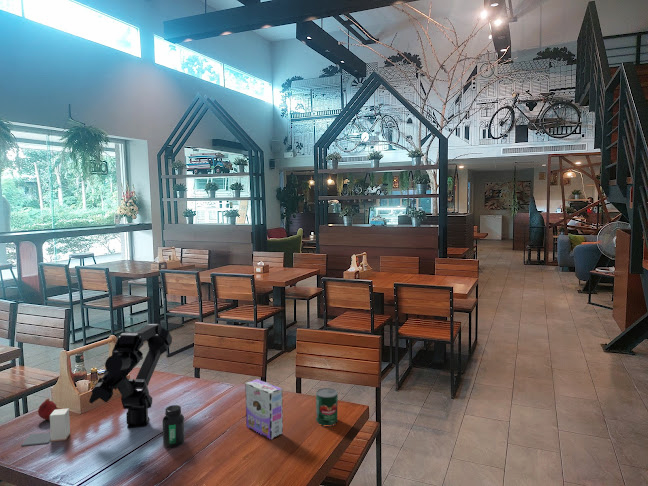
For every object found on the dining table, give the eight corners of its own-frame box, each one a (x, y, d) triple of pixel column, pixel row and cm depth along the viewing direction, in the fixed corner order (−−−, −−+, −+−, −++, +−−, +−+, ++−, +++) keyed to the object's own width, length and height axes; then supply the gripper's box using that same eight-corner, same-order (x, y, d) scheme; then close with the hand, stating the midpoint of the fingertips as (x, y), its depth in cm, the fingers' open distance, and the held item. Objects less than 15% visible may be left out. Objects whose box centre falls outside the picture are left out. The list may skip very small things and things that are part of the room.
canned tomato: (325, 428, 161) (325, 398, 160) (311, 421, 167) (311, 391, 166) (342, 421, 166) (342, 392, 165) (327, 414, 172) (327, 386, 171)
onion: (48, 424, 164) (47, 402, 163) (34, 422, 165) (33, 401, 164) (60, 416, 169) (59, 396, 169) (47, 415, 171) (46, 394, 170)
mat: (55, 433, 157) (55, 432, 157) (48, 443, 151) (48, 442, 151) (30, 435, 156) (30, 434, 156) (21, 446, 149) (21, 444, 149)
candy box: (283, 434, 157) (283, 388, 156) (270, 440, 153) (270, 393, 151) (258, 421, 166) (257, 377, 165) (245, 427, 162) (244, 382, 161)
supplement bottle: (175, 450, 147) (174, 414, 146) (158, 446, 149) (157, 410, 148) (189, 439, 153) (188, 405, 152) (172, 436, 155) (171, 402, 154)
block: (70, 433, 157) (69, 408, 156) (65, 440, 153) (64, 414, 152) (55, 434, 156) (54, 409, 155) (50, 441, 152) (49, 415, 151)
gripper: (136, 392, 150) (102, 429, 148) (145, 371, 168) (115, 404, 166) (109, 372, 147) (74, 409, 146) (121, 353, 165) (90, 385, 164)
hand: (90, 402), depth 155 cm, fingers closed
